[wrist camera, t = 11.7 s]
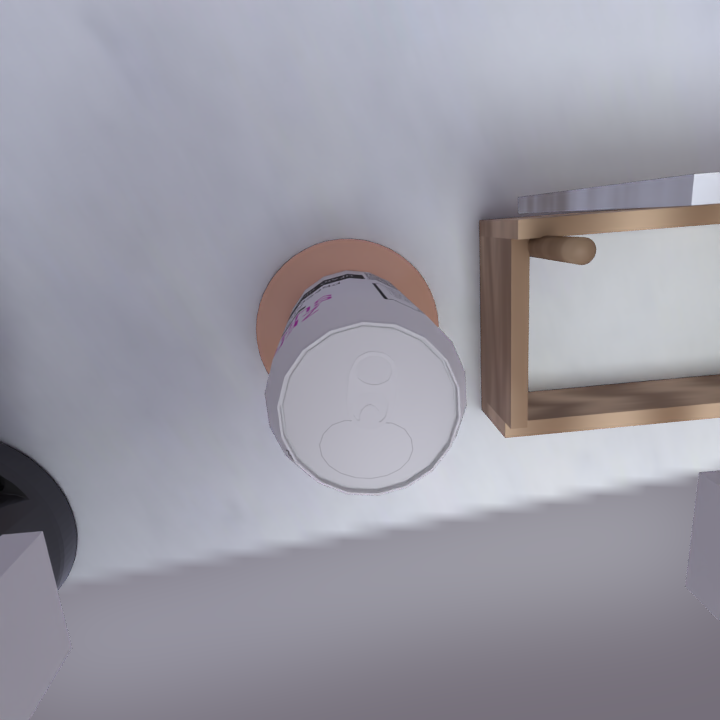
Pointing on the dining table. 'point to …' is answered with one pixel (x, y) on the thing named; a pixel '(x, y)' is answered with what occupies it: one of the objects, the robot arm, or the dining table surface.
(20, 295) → the dining table surface
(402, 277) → the saucer
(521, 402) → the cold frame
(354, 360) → the supplement can
